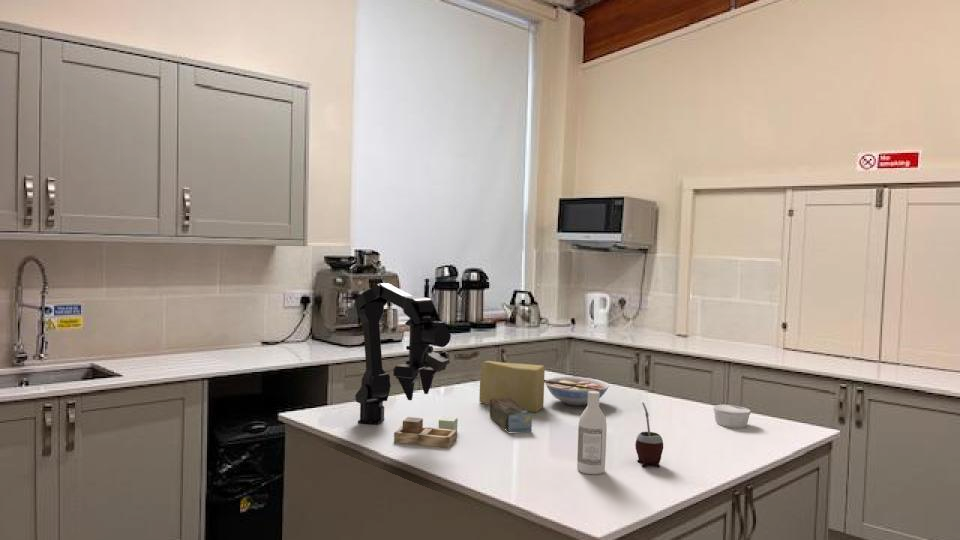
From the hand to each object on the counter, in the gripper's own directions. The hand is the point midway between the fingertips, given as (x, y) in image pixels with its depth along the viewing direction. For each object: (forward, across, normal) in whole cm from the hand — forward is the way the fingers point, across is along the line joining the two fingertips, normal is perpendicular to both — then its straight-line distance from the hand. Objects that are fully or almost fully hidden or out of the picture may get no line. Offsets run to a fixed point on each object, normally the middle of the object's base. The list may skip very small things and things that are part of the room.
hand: (418, 396), depth 197 cm
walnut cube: (+11, -1, +1) cm, 11 cm away
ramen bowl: (+12, +66, -27) cm, 72 cm away
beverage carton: (+12, +28, -17) cm, 35 cm away
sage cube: (+12, +9, -5) cm, 16 cm away
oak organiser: (+12, 0, -3) cm, 12 cm away
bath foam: (+12, -2, -51) cm, 53 cm away
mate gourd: (+12, +11, -63) cm, 65 cm away
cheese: (+12, +50, -8) cm, 52 cm away
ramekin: (+12, +66, -79) cm, 104 cm away
